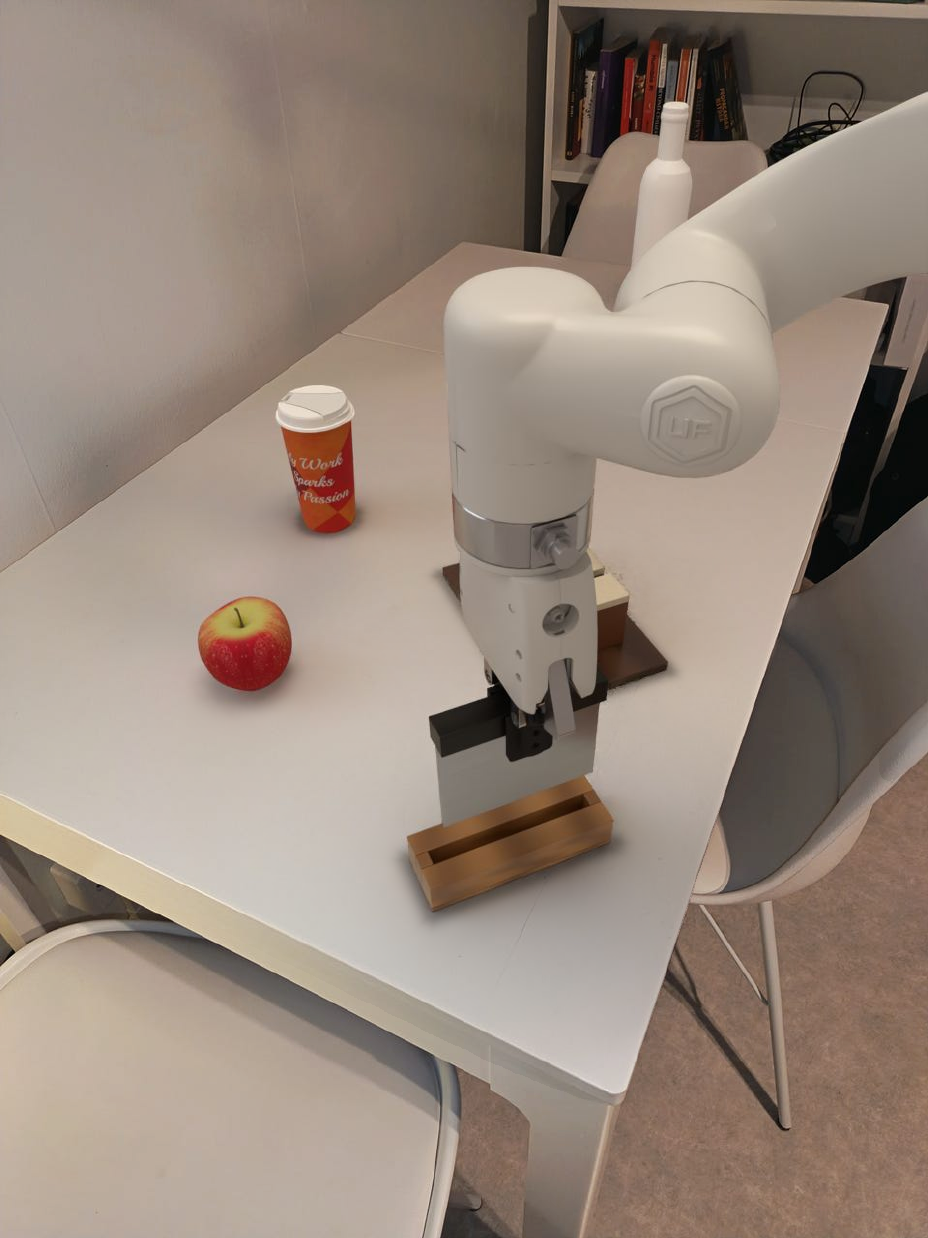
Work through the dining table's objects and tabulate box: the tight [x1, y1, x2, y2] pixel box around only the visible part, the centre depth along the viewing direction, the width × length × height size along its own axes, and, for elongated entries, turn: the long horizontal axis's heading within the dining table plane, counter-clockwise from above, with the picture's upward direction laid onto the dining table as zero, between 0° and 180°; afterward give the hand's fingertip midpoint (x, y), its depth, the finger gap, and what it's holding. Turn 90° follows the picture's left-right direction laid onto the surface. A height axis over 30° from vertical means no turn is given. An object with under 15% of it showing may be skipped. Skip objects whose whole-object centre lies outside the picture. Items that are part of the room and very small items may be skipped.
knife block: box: [406, 775, 615, 912], centre depth 68 cm, size 15×5×3 cm, turn 113°
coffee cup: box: [275, 384, 356, 534], centre depth 98 cm, size 8×8×15 cm
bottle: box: [630, 101, 694, 269], centre depth 135 cm, size 8×8×30 cm
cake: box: [441, 547, 669, 690], centre depth 87 cm, size 14×22×7 cm, turn 23°
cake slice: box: [594, 573, 631, 651], centre depth 83 cm, size 9×4×6 cm, turn 113°
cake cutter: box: [428, 666, 609, 827], centre depth 61 cm, size 12×2×10 cm, turn 113°
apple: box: [197, 596, 293, 692], centre depth 80 cm, size 8×8×10 cm
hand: (519, 736), depth 60 cm, fingers closed on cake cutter, 2 cm apart
